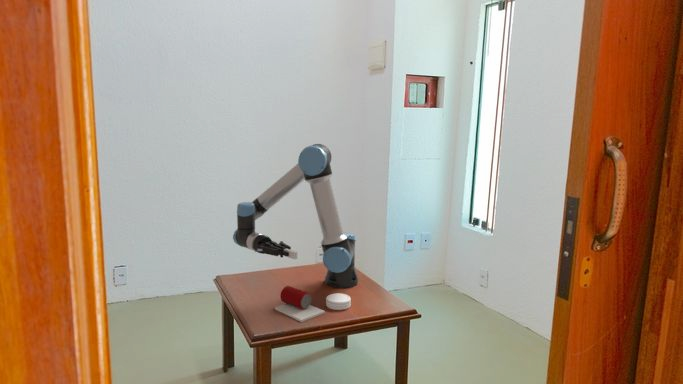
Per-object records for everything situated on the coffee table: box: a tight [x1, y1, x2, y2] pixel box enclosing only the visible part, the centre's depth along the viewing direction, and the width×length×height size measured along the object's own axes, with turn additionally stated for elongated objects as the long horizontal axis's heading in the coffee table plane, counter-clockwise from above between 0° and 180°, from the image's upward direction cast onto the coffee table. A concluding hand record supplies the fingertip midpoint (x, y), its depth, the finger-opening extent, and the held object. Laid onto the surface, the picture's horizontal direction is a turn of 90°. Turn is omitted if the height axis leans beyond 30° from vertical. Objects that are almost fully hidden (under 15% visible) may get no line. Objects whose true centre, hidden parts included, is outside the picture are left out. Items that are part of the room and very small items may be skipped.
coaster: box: [325, 293, 352, 311], centre depth 196 cm, size 10×10×4 cm
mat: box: [274, 303, 326, 323], centre depth 190 cm, size 16×12×1 cm
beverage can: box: [280, 285, 312, 309], centre depth 193 cm, size 7×7×12 cm
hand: (295, 255), depth 188 cm, fingers closed
